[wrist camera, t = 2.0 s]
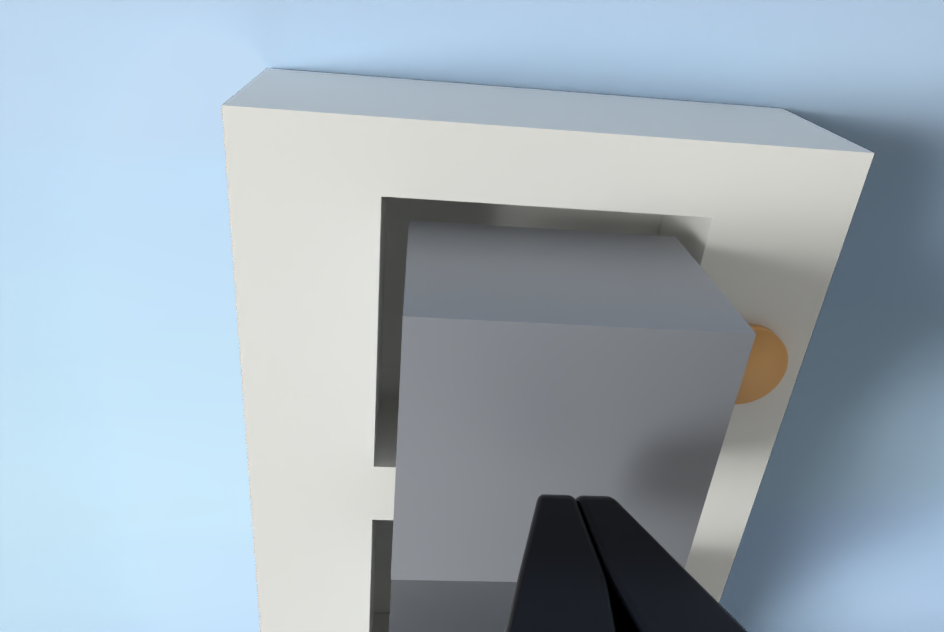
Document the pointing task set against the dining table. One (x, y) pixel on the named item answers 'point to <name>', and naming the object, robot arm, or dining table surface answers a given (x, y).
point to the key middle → (449, 606)
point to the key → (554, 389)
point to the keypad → (500, 204)
